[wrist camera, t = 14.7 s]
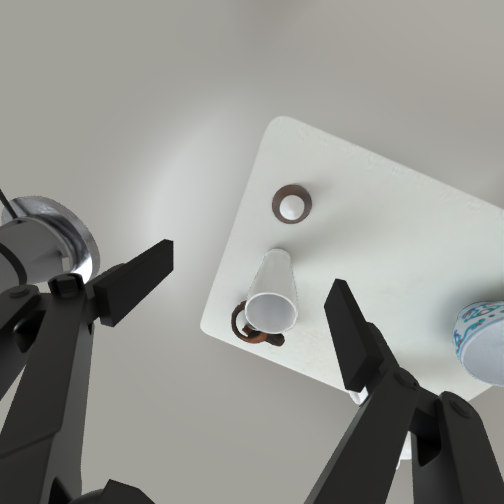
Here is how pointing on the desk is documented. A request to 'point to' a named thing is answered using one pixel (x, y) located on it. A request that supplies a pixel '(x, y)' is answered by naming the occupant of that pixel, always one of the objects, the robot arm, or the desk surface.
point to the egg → (292, 207)
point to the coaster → (286, 192)
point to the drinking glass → (273, 295)
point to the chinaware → (481, 341)
